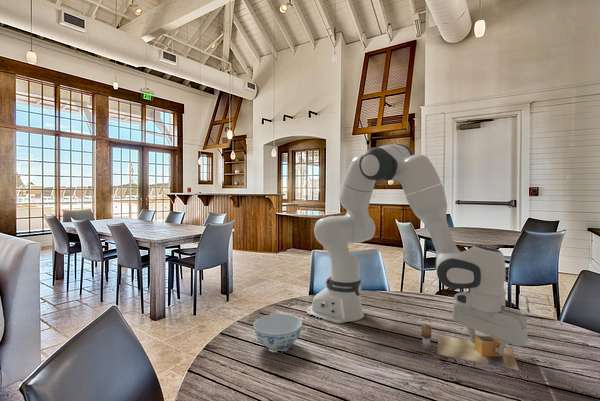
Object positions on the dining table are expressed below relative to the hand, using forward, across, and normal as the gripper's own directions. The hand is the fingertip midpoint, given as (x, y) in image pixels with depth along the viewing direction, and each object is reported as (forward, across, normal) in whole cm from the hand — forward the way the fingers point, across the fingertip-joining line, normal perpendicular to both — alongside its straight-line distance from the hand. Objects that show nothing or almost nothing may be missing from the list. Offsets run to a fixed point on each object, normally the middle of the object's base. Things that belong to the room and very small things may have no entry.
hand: (486, 348), depth 94 cm
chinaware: (+3, +35, +51) cm, 62 cm away
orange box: (+1, 0, 0) cm, 1 cm away
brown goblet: (+2, +10, +13) cm, 17 cm away
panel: (+2, +2, +2) cm, 4 cm away
